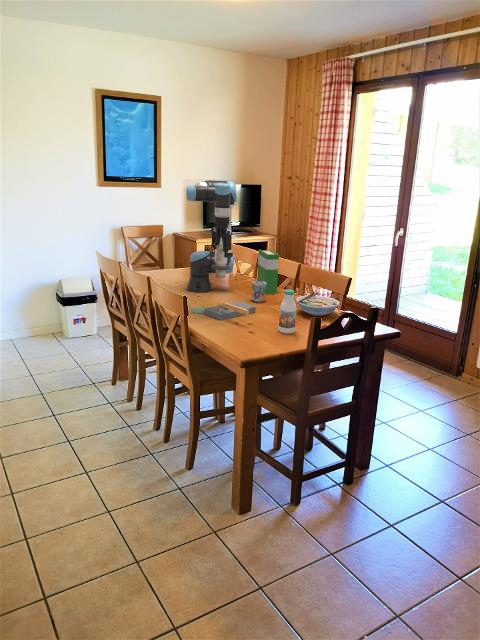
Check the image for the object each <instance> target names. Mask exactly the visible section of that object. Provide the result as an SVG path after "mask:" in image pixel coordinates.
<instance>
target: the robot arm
mask: <svg viewBox="0 0 480 640" xmlns="http://www.w3.org/2000/svg"><path fill="white" fill-rule="evenodd" d="M236 186H237V185H236V183H235V182H234V181H231V180H212V179H211V180H209V179H208V180H202V181H199V182H197V183H195V184H194V185H188V186H187V187H186V191H185V192H186V200H187V202H204V203H205V202H209V203H214V218H213V219H214V220H213V223H214V225H215V226H214V227H211V228H210V229H211V248H213V252H212V253H211V252H210V251H209V250H199V251H195V252H192V253H191V254H190V257H189V258H190V259H189V264H190V265H189V267H190V268H189V279H188V282H187V285H186V290H187V291H188V292H192V293H208V292H211V291H212V290H213V286H212V282H211V279H210V274H216V270H215V269H212V268H211V266H212V265H215V264H216V245H223V249H224V250H223V251H222V264H226V265H229V266H230V269H229V270H226V273H225V275H227V274H233V273H232V272H233V271H234V270H233V269H234V265H235V258H236V255H235V254H233V250H232V238H233V237H232V236H233V230H232V213H233V212H232V209H233V207H234V206H235V203H237V202H238V199H237V187H236Z"/></svg>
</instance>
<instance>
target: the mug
mask: <svg viewBox="0 0 480 640" xmlns="http://www.w3.org/2000/svg"><path fill="white" fill-rule="evenodd" d="M250 284H251V290H252V295H251V297H250V300H251V301H252V302H254V303H263V302H266V295H265V294H264V292H265V288H266V285H267V283H266V282H263V281H257V280H254V281H250Z"/></svg>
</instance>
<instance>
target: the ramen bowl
mask: <svg viewBox="0 0 480 640" xmlns="http://www.w3.org/2000/svg"><path fill="white" fill-rule="evenodd" d="M318 294H319V293H318V292H316V293H315V292H312V293H310V294H309V295H302V296H298V297H297V298H296V304H298V306H299V309H301V310H302V311H303V312H305V313H307V314H309V315H310V316H314V317H323V316H325V315H328V314H332V313H333V312H334V311H335V310H336V309H337V308H338V306H339V305H340V301H339V300H338V299H335V298H333V297H329V296H324V295H318Z"/></svg>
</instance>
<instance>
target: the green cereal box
mask: <svg viewBox="0 0 480 640" xmlns="http://www.w3.org/2000/svg"><path fill="white" fill-rule="evenodd" d="M257 259H258V260H257V277H256V281H263V282H266V283H267V285H266V288H265V292H264V295H276V293H278V292H277V291H278V277H279V265H280V264H279V261H280V254H279V253H277V252H275V251H274V250H272V249H270V248H269V249H268V250H262V249H258V258H257Z"/></svg>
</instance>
